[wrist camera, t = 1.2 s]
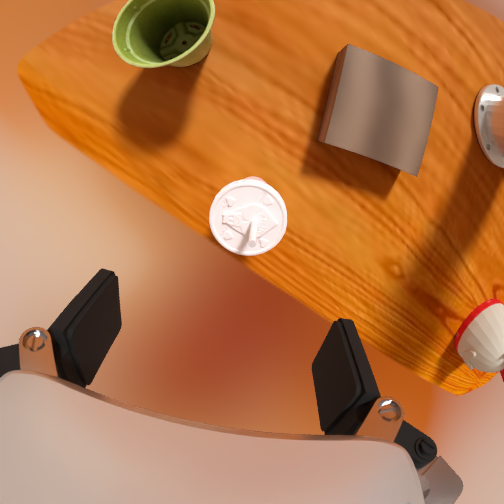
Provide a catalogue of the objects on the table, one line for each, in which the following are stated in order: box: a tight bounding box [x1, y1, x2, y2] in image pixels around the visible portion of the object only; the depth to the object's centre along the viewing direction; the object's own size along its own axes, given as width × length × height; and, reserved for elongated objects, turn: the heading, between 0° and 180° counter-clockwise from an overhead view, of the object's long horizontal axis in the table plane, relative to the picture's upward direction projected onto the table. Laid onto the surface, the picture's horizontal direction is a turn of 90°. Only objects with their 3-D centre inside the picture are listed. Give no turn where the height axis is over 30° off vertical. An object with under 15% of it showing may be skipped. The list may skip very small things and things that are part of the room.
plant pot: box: [112, 0, 215, 68], centre depth 19 cm, size 9×9×9 cm
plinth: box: [317, 44, 438, 177], centre depth 24 cm, size 11×11×4 cm
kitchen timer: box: [454, 299, 504, 381], centre depth 32 cm, size 14×14×15 cm
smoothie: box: [209, 176, 287, 256], centre depth 24 cm, size 6×6×14 cm
